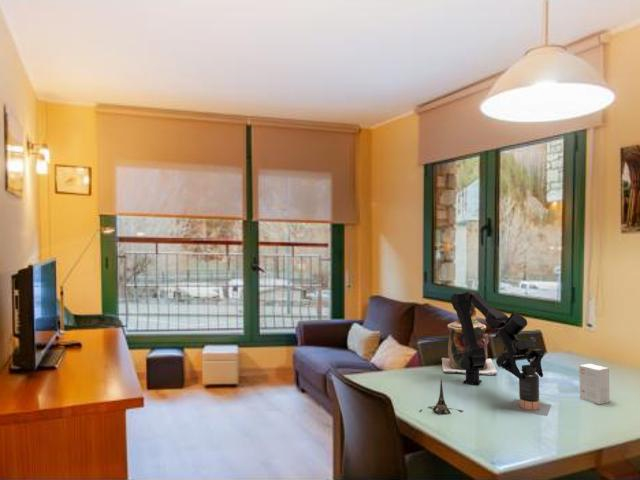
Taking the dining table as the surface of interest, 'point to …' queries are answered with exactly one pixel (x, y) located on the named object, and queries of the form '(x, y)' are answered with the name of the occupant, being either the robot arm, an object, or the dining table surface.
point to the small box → (594, 383)
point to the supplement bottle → (529, 384)
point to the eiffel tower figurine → (441, 405)
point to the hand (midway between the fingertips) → (532, 378)
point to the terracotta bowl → (530, 404)
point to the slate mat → (542, 411)
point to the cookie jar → (458, 346)
